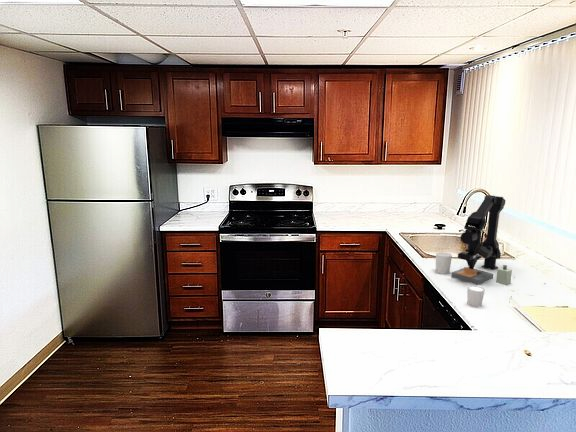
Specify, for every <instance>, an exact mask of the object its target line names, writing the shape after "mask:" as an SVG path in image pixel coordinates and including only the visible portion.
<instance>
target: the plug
mask: <svg viewBox="0 0 576 432" xmlns="http://www.w3.org/2000/svg"><path fill="white" fill-rule="evenodd" d="M512 273H513V269H510V268H508V264H503V265H502V267H498V268H496V276H495V277H496V278H495V283H497V284H499V285H500V284H501V285H502V286H503V285H505V286H508V285H510V284H511V282H512Z"/></svg>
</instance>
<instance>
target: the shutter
mask: <svg viewBox="0 0 576 432" xmlns="http://www.w3.org/2000/svg"><path fill="white" fill-rule="evenodd" d="M467 267H468V266H464V267H463V268H464V271H461V272H458V273H457V274H459V275H463V276H466V277H469V278H471V277H474V276H476V275H477V270H478V269H477V270H474V269H475V268H474V269H470V268H467Z"/></svg>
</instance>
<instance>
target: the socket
mask: <svg viewBox="0 0 576 432" xmlns="http://www.w3.org/2000/svg"><path fill="white" fill-rule="evenodd" d="M466 267H467V268H469V266H466ZM474 270H477V275H476V276H474V277H471V278H469V277H466V276H463V275H459V274H457V273H458V272H461V271H464V267H463V268H460V269H457V270H454V271H452V272H451V276H450V277H451V278H453V279H457V280H460V281H463V282H467V283H470V284H474V285H475V286H479V285H482V284H484V283H486V282H489V281H491V280H494V273H491V272H489V271H484V270H480V269H476V268H474Z"/></svg>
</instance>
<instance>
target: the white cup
mask: <svg viewBox="0 0 576 432" xmlns="http://www.w3.org/2000/svg"><path fill="white" fill-rule="evenodd" d="M452 256H453V254H452V253H449V252H444V251H438V252H435V272H436V273H438V274H440V275H449V274H450V269H451V263H452Z"/></svg>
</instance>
